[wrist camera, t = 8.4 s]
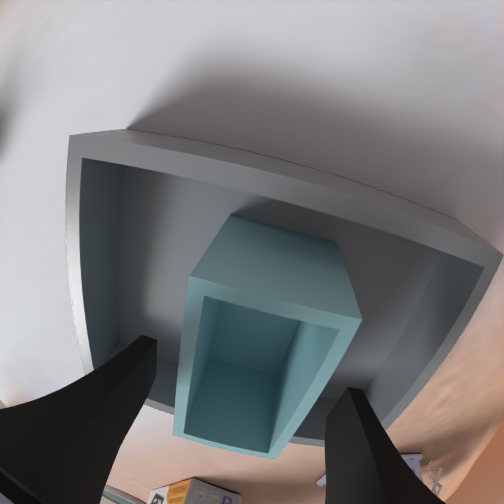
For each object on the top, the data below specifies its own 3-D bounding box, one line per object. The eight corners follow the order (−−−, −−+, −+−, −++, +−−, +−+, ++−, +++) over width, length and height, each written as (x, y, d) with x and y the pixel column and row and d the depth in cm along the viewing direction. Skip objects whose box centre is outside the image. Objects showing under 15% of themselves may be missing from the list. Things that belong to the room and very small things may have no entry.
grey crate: (457, 220, 13) (503, 254, 9) (358, 399, 19) (366, 449, 15) (125, 129, 13) (69, 135, 9) (116, 337, 19) (86, 379, 15)
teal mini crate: (336, 242, 13) (362, 319, 8) (282, 375, 17) (275, 459, 12) (230, 213, 14) (189, 275, 8) (202, 355, 17) (172, 434, 12)
